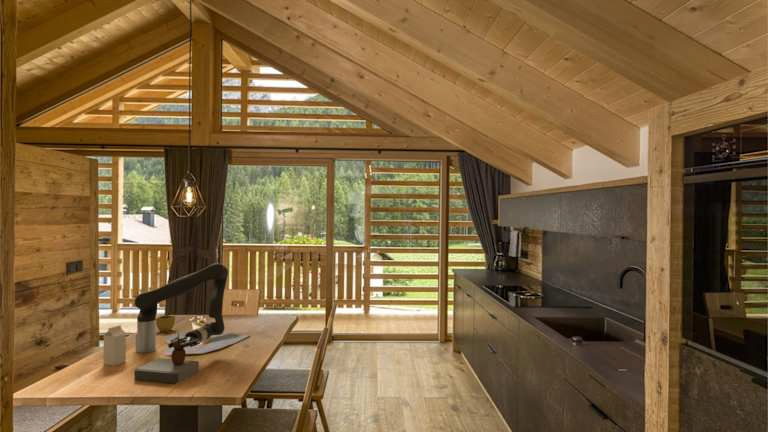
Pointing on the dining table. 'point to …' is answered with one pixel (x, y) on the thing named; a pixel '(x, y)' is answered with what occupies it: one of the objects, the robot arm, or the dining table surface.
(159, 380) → the block
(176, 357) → the wooden figurine
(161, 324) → the flower pot
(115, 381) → the dining table surface
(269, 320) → the dining table surface
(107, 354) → the milk carton
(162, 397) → the dining table surface
